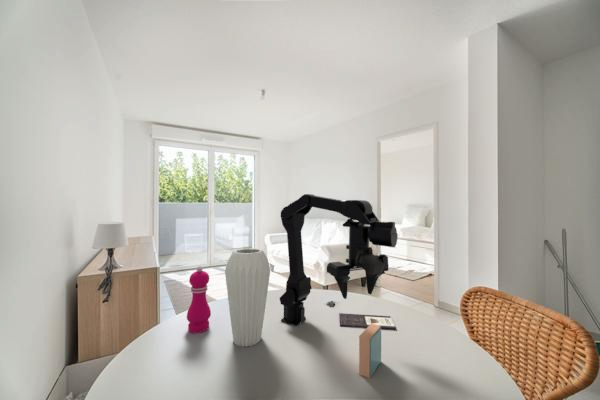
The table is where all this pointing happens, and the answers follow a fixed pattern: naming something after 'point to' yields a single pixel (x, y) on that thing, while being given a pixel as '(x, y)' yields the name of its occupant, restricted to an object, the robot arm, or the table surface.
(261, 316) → the vase
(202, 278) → the pepper mill
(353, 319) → the chocolate bar
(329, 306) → the blueberries
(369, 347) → the block
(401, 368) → the table surface
